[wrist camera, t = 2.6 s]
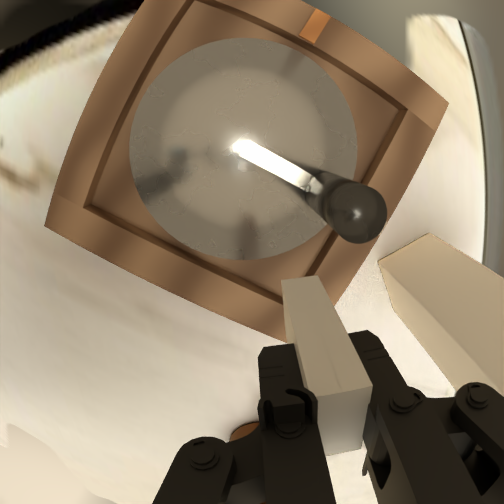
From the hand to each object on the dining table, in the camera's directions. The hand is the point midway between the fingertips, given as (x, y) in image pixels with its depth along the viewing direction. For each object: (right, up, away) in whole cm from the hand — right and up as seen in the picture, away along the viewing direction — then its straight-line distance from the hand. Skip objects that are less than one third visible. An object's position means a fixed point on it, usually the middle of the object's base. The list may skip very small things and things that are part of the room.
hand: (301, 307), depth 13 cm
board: (-3, +10, +10) cm, 15 cm away
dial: (-3, +10, +9) cm, 13 cm away
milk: (+13, 0, +15) cm, 20 cm away
